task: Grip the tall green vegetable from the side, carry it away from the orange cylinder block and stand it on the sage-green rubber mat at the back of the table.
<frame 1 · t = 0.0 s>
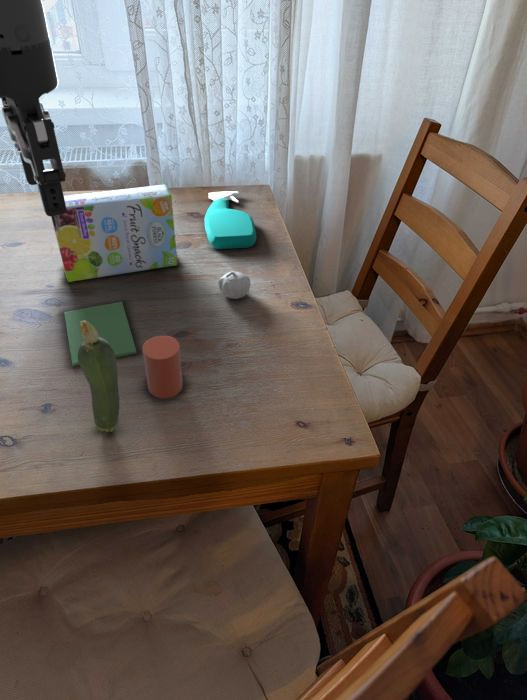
hand: (46, 197, 59), 30 cm above the table, tool pointing down, fingers open, 8 cm apart
green mat: (99, 333, 88), on the table
garlic: (234, 296, 98), on the table
vegetable: (113, 429, 73), on the table
snack box: (122, 268, 103), on the table
spray bottle: (227, 222, 119), on the table
orange cylinder block: (165, 386, 80), on the table
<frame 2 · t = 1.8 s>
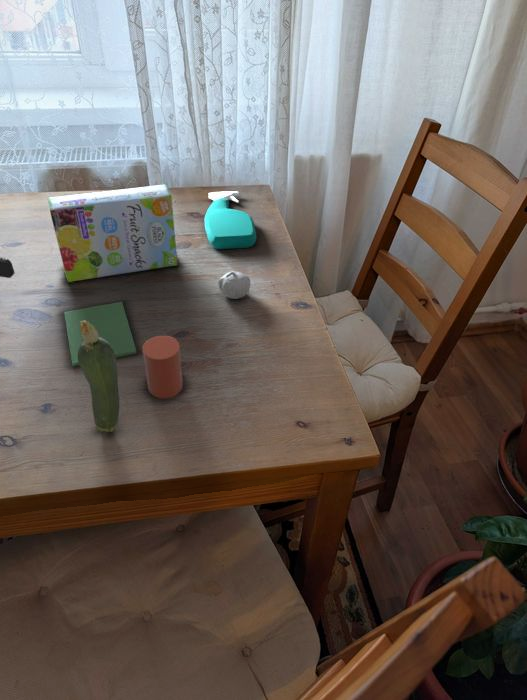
nothing on the table moved.
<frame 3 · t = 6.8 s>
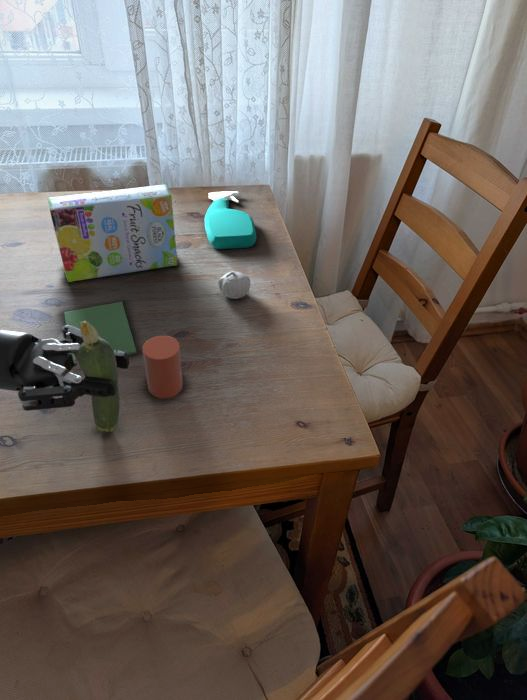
hand: (121, 374, 66), 11 cm above the table, tool horizontal, fingers closed on vegetable, 4 cm apart
vegetable: (113, 428, 73), on the table, touching gripper
everything else where it was.
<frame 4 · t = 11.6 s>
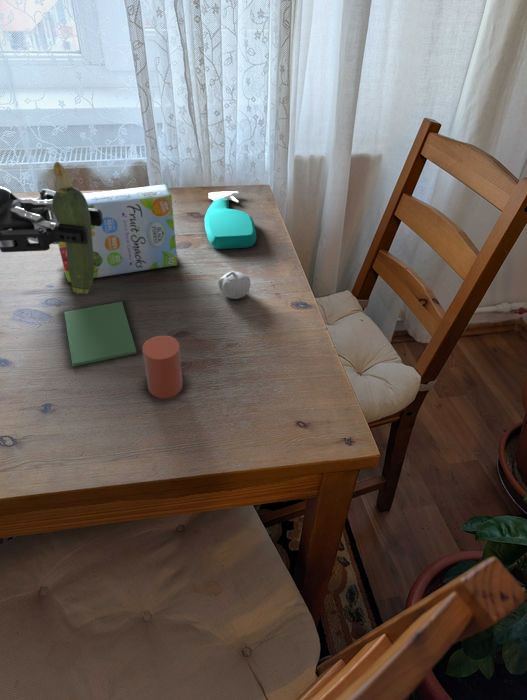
hand: (94, 226, 70), 23 cm above the table, tool horizontal, fingers closed on vegetable, 4 cm apart
vegetable: (88, 293, 77), point 12 cm above the table, touching gripper
everything else where it was.
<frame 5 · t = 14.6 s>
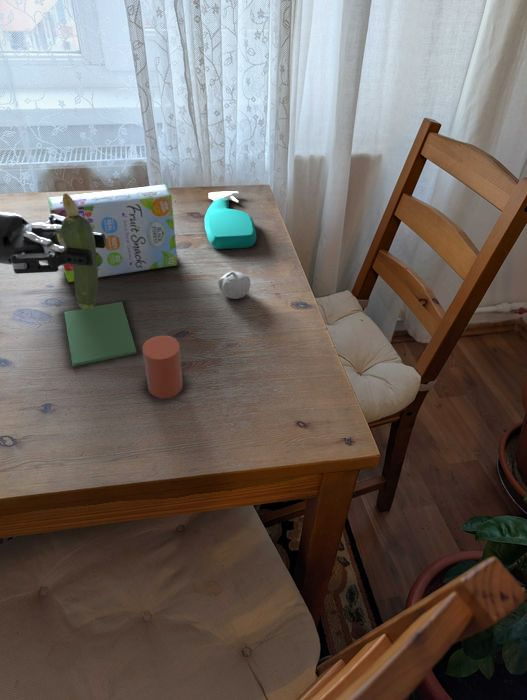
hand: (98, 249, 77), 17 cm above the table, tool horizontal, fingers closed on vegetable, 4 cm apart
vegetable: (92, 308, 84), point 5 cm above the table, touching gripper
everything else where it was.
when the fingers open (12 cm above the table, at t = 16.7 s): vegetable stays where it is, resting on green mat.
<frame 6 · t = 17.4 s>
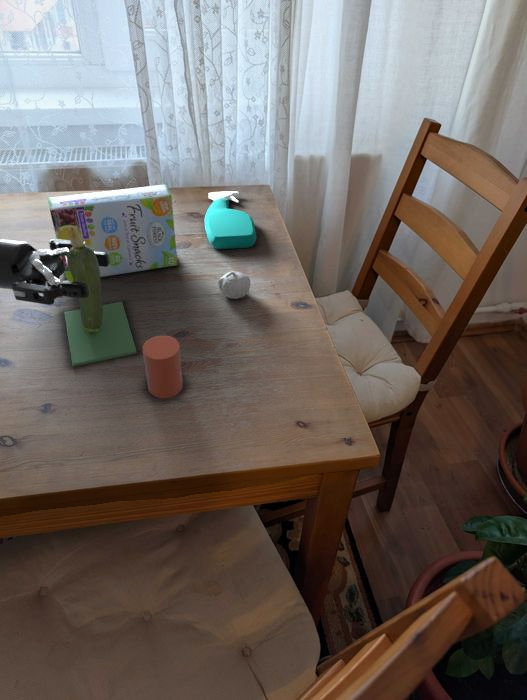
hand: (98, 274, 80), 12 cm above the table, tool horizontal, fingers open, 8 cm apart
vegetable: (98, 331, 88), resting on green mat
everything else where it was.
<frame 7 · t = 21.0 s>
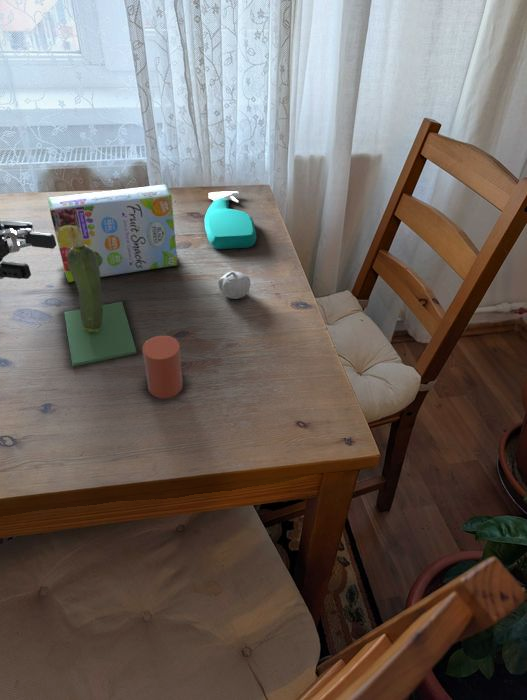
hand: (42, 255, 78), 15 cm above the table, tool horizontal, fingers open, 8 cm apart
nothing on the table moved.
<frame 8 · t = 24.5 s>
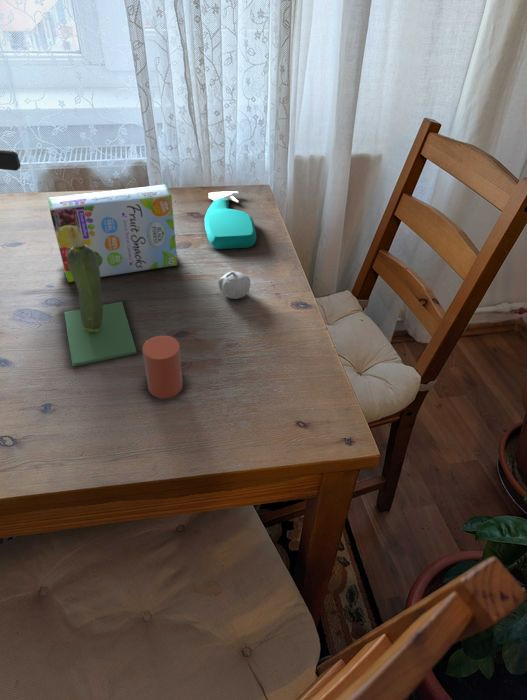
hand: (1, 175, 63), 30 cm above the table, tool horizontal, fingers open, 8 cm apart
nothing on the table moved.
at the end: vegetable inside the target area on the green mat (0.1 cm from its centre), point 0.4 cm above the green mat's base; vegetable tilted 0°; orange cylinder block moved 0.0 cm from its start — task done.
